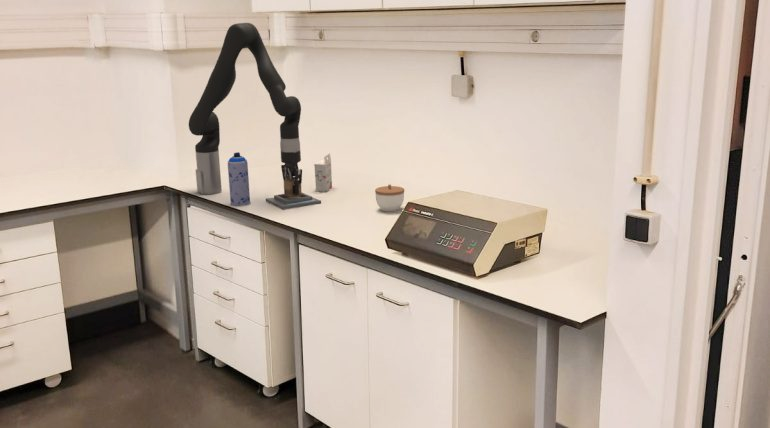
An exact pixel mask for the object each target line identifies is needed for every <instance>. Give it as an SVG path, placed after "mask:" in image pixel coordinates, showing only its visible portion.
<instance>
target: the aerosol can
mask: <svg viewBox="0 0 770 428" xmlns="http://www.w3.org/2000/svg"><path fill="white" fill-rule="evenodd" d="M248 163H249V162H248V160H247V159H246V158H245V157H244V156H242V155H241V153H240V152H237V151H236V152H233V156H232V157H230V158H229V159H228V160H227V171H228V172H227V174H228V185H229V186H228V187H229V197H230V202H229V205H230V206H232V207H245V206H246V207H247V206H249V205H251V203H252V202H251V194H250V178H249V167H248V166H249V165H248Z"/></svg>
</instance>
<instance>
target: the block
mask: <svg viewBox="0 0 770 428" xmlns="http://www.w3.org/2000/svg"><path fill="white" fill-rule="evenodd" d="M294 181H295V179H294ZM283 190H284V191H283V194H284V195H285V196H287V197H290V198H291V197H297V196H302V193H303V192H302V183H301V184H299V194H297V195H294V194H293V184H292V180H291V179H288V180H283Z"/></svg>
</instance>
